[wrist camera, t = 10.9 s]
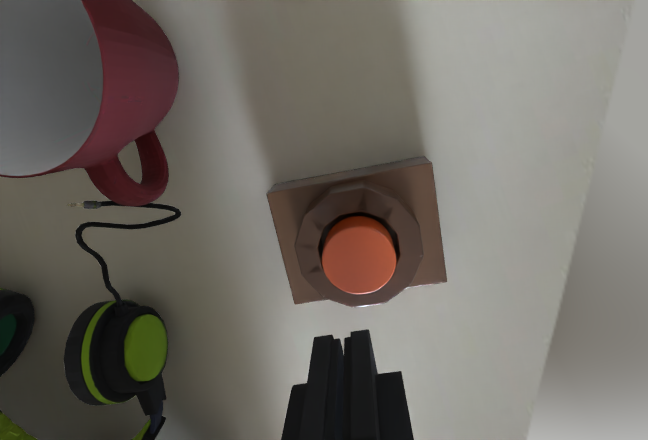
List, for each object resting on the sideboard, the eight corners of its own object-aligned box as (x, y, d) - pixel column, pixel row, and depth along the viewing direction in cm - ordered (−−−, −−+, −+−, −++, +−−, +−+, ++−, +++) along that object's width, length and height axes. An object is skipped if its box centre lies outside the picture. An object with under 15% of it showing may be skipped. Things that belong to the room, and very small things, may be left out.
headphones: (110, 256, 15) (150, 600, 21) (203, 194, 24) (211, 447, 30) (-275, 222, 16) (-130, 562, 22) (-45, 174, 25) (12, 424, 31)
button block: (425, 155, 23) (439, 168, 19) (439, 266, 25) (455, 298, 21) (273, 184, 24) (258, 201, 20) (299, 287, 26) (289, 321, 22)
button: (387, 209, 20) (390, 220, 18) (397, 273, 21) (401, 289, 20) (318, 221, 21) (314, 233, 19) (331, 283, 22) (329, 299, 20)
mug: (259, 145, 23) (193, 183, 14) (147, 202, 25) (20, 270, 15) (161, -39, 21) (-2, -149, 11) (44, 37, 22) (-186, -3, 13)
